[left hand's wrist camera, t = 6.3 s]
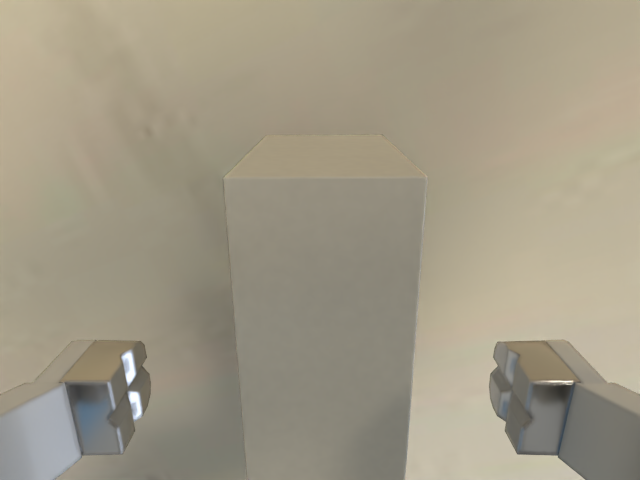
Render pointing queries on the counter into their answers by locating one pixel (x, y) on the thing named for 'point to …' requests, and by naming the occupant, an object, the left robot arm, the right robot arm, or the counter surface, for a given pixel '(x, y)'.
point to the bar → (325, 304)
